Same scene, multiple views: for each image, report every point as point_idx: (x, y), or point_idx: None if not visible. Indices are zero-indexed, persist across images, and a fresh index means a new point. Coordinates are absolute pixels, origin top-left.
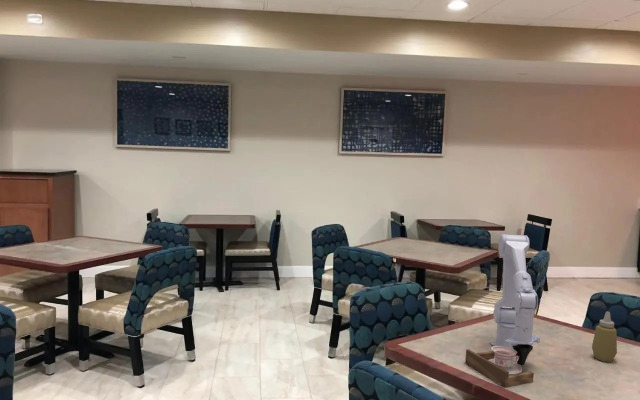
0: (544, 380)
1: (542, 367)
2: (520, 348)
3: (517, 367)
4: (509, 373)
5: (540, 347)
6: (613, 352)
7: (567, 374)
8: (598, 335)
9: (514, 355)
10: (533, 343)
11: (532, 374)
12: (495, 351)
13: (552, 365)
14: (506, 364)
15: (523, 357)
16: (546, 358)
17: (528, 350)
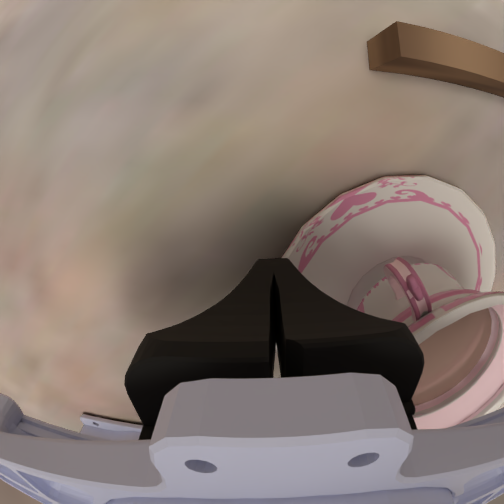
0: (242, 30)
1: (85, 231)
2: (419, 371)
3: (306, 269)
4: (465, 194)
5: (13, 388)
6: None
7: (9, 108)
8: None
9: (460, 301)
10: (180, 412)
11: (406, 27)
12: (438, 411)
13: (18, 239)
14: (450, 276)
15: (303, 287)
16: (16, 316)
17: (248, 328)
